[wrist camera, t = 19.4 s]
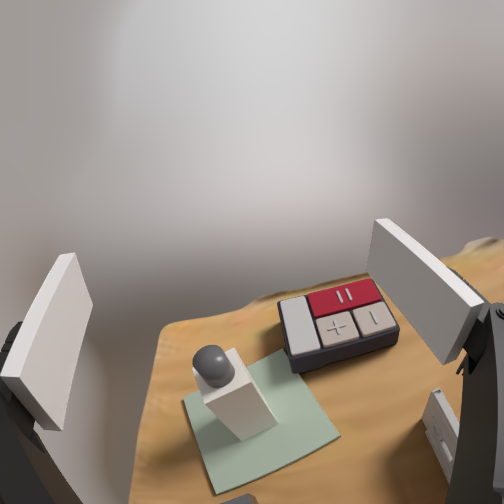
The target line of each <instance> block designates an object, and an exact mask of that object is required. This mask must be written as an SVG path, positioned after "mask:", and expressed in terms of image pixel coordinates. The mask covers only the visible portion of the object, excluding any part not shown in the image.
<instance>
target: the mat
mask: <svg viewBox="0 0 504 504" xmlns="http://www.w3.org/2000/svg"><path fill="white" fill-rule="evenodd" d="M246 368H247V370H248V372H249V373H250V375H251V377H252V378H253V380H254V382H255V383H256V385H257V386H258V388H259V390H260V391H261V393H262V394H263V396H264V398H265V400H266V402H267V404H268V406H269V408H270V409H271V411H272V413H273V415H274V417H275V419H276V420H277V422H278V424H277V425H275V426H273V427H271V428H269V429H267V430H265V431H263V432H261V433H258V434H256V435H254V436H252V437H250V438H248V439H246V440H243V441H241V440H240V439H239V438H238V437H237V436H236V435H235V434H234V433H233V432H232V431H231V430H230V429H229V428H228V427H227V426H226V425H225V424H224V423H223V422H222V421H221V420H220V419H219V418H218V417H217V416H216V415H215V414H214V413H213V412H212V411H211V410H210V409H209V408H208V407H207V406H206V405H205V404H204V401H203V398H202V395H201V392H200V390H197V391H195V392H193V393H191V394H188V395H186V396H184V397H183V399H184V402H185V406H186V409H187V412H188V415H189V419H190V422H191V425H192V428H193V431H194V434H195V437H196V440H197V443H198V446H199V449H200V452H201V455H202V457H203V460H204V463H205V466H206V469H207V471H208V474H209V477H210V479H211V482H212V485H213V487H214V490H215V492H216V494H217V495H219V494H222V493H225V492H227V491H230V490H233V489H235V488H238V487H240V486H243V485H245V484H248V483H250V482H252V481H255V480H257V479H259V478H262V477H264V476H266V475H268V474H271V473H273V472H275V471H277V470H279V469H281V468H283V467H285V466H287V465H289V464H292V463H294V462H296V461H297V460H299V459H301V458H303V457H305V456H307V455H309V454H311V453H313V452H315V451H316V450H318V449H320V448H322V447H324V446H325V445H327V444H329V443H331V442H332V441H334V440H336V439H337V438H339V437H341V436H340V434H339V433H338V431H337V430H336V428H335V427H334V425H333V424H332V422H331V421H330V419H329V418H328V416H327V415H326V413H325V412H324V411H323V409H322V408H321V406H320V405H319V403H318V402H317V400H316V399H315V397H314V396H313V394H312V393H311V391H310V390H309V388H308V387H307V385H306V384H305V382H304V381H303V379H302V378H301V376H300V375H299V373H296V374H293V373H292V371H291V367H290V363H289V359H288V357H287V355H286V353H285V352H284V350H283V349H280V350H278V351H276V352H274V353H272V354H270V355H269V356H267V357H265V358H263V359H261V360H259V361H257V362H255V363H253V364H251V365H249V366H247V367H246Z"/></svg>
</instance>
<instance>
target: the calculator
mask: <svg viewBox="0 0 504 504" xmlns="http://www.w3.org/2000/svg"><path fill="white" fill-rule="evenodd" d="M277 306H278V311H279V316H280V320H281V325H282V330H283V335H284V339H285V344H286V349H287V354H288V359H289V363H290V367H291V371H292V373H293V374H296V373H301V372H305V371H309V370H314V369H318V368H320V367H322V366H324V365H325V364H328V363H331V362H335V361H339V360H343V359H346V358H350V357H354V356H357V355H360V354H364V353H367V352H371V351H374V350H377V349H380V348H384V347H387V346H390V345H393V344H396V343H397V341H398V337H399V331H400V327H399V325H398V323H397V322H396V320H395V318H394V316H393V314H392V312H391V311H390V309H389V307H388V305H387V303H386V302H385V300H384V298H383V296H382V295H381V293H380V291H379V289H378V288H377V286H376V284H375V282H374V281H373V280H372V279H370V278H369V279H365V280H361V281H357V282H353V283H349V284H346V285H342V286H338V287H334V288H330V289H326V290H322V291H317V292H313V293H310V294H308V295H304V296H300V297H295V298H291V299H287V300H282V301H279V302H278V303H277Z"/></svg>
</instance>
